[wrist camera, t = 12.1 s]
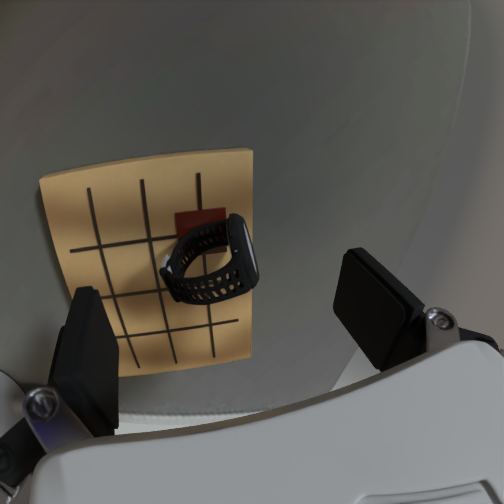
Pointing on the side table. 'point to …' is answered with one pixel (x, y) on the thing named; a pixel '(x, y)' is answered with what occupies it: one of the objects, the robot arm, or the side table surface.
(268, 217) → the side table surface
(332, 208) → the side table surface
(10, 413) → the mug
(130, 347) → the board
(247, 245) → the smartwatch
